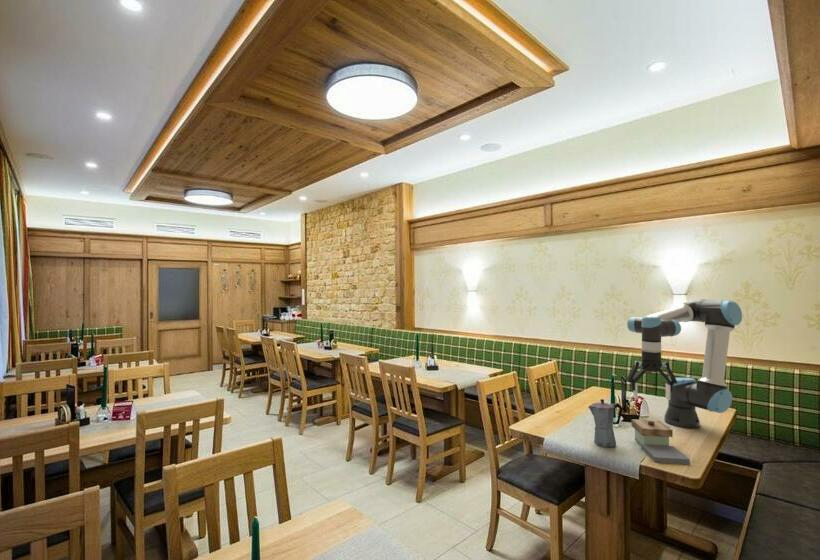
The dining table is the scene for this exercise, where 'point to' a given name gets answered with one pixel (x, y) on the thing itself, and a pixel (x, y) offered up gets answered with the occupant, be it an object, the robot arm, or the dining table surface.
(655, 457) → the mat
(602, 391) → the dining table surface
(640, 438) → the green open box
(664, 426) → the lid
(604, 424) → the moka pot
